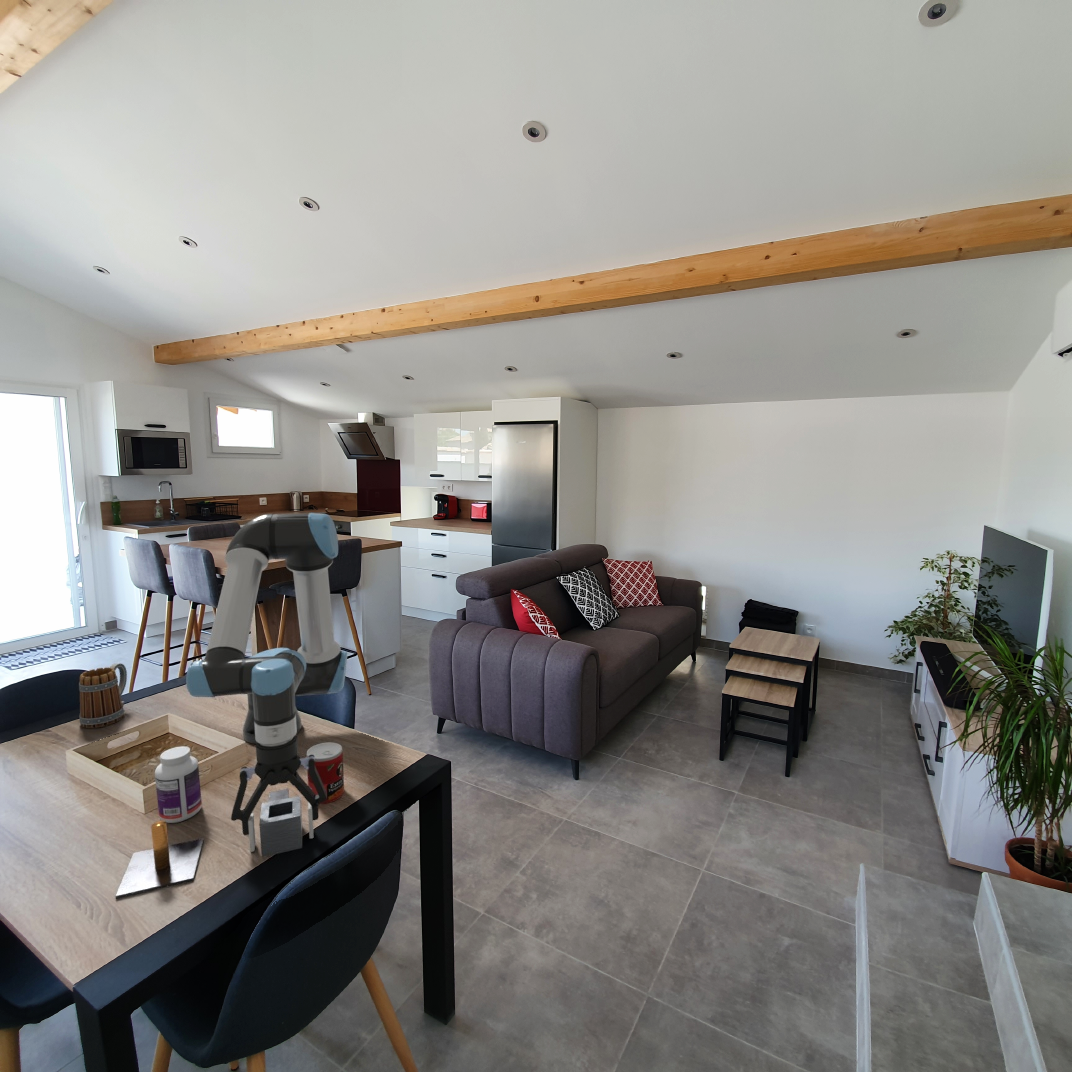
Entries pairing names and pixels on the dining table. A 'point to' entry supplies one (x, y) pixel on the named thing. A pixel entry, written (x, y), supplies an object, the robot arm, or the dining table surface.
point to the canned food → (328, 769)
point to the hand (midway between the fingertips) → (282, 840)
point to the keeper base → (160, 877)
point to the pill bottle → (178, 785)
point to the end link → (281, 826)
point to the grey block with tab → (278, 795)
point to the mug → (102, 696)
